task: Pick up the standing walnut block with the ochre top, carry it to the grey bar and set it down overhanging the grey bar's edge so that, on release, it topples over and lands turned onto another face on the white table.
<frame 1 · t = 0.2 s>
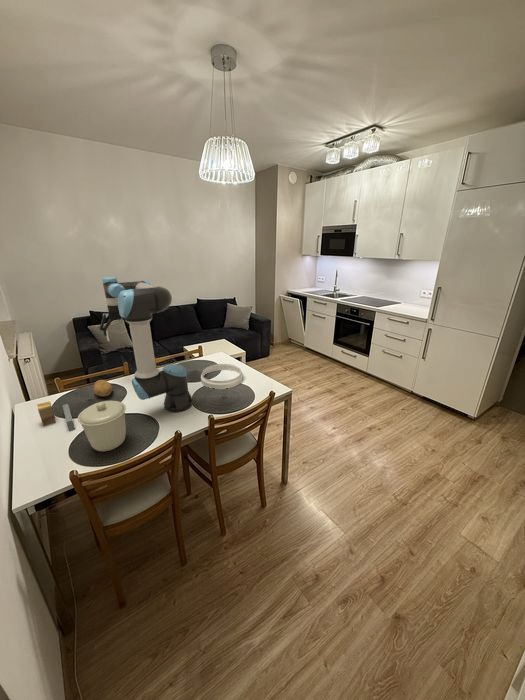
hand: (120, 338, 172), 28 cm above the table, fingers open, 13 cm apart
potato: (104, 395, 164), on the table
grey bar: (69, 420, 140), on the table
block: (49, 422, 139), on the table
canister: (109, 443, 126), on the table
white flat ring: (222, 379, 184), on the table
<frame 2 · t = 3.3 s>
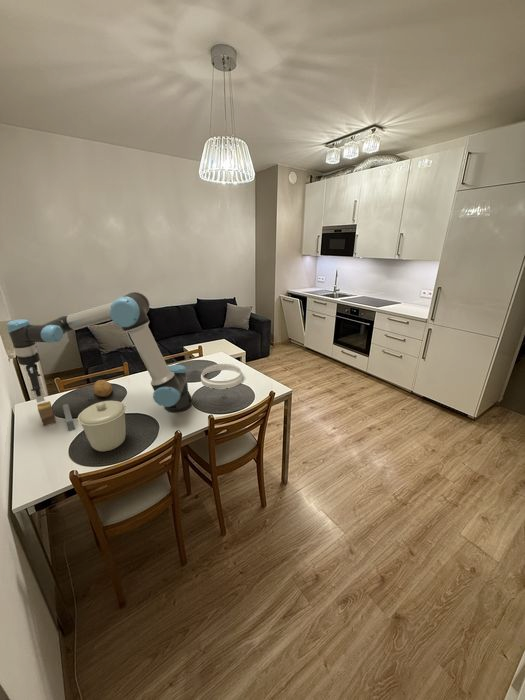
hand: (40, 395, 134), 15 cm above the table, fingers open, 13 cm apart
nothing on the table moved.
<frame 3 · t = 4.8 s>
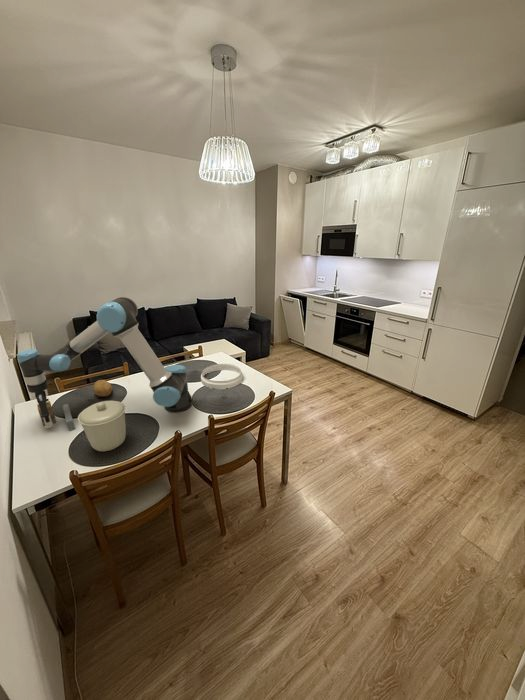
hand: (48, 420, 139), 1 cm above the table, fingers open, 13 cm apart
nothing on the table moved.
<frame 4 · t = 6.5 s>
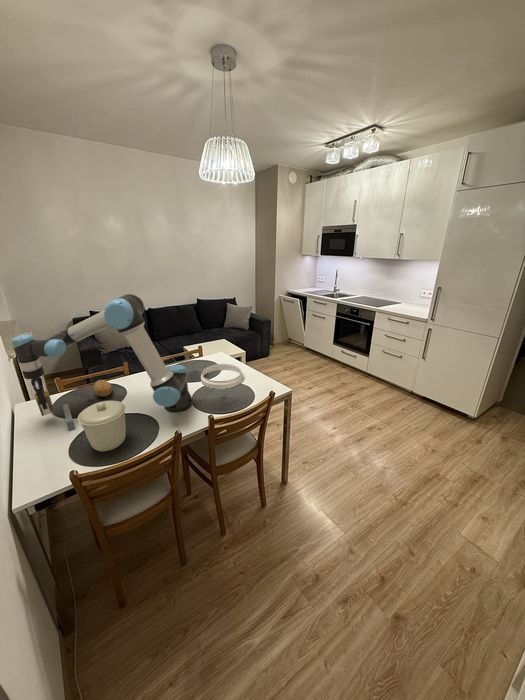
hand: (47, 411, 137), 6 cm above the table, fingers closed on block, 5 cm apart
block: (47, 411, 137), point 6 cm above the table, touching gripper
everything else where it was.
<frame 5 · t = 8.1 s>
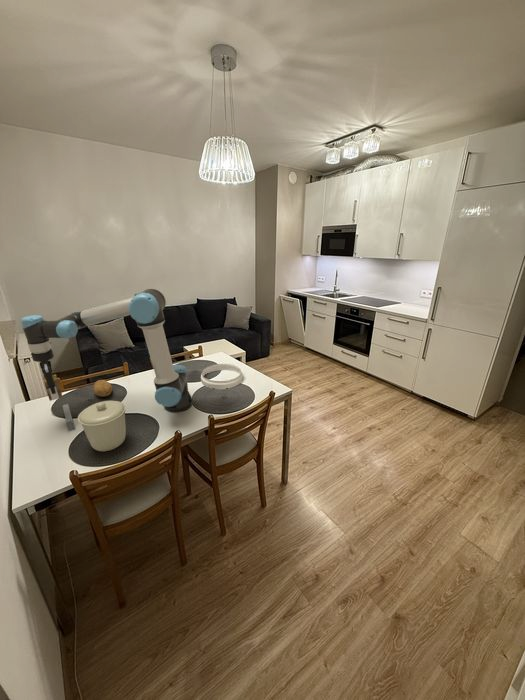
hand: (55, 396, 132), 16 cm above the table, fingers closed on block, 5 cm apart
block: (55, 396, 133), point 15 cm above the table, touching gripper
everything else where it was.
when the fingers open (5 cm above the table, at t = 10.2 s): block drops 3 cm and tips over, point 2 cm above the table.
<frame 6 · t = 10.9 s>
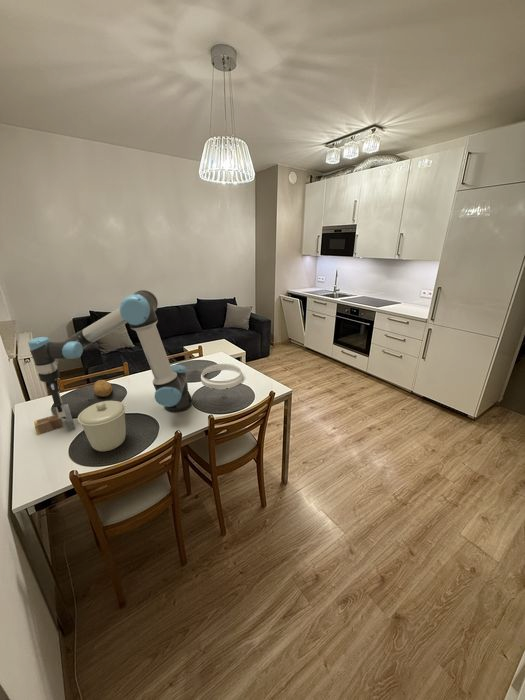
hand: (60, 410, 135), 8 cm above the table, fingers open, 13 cm apart
block: (61, 420, 137), point 2 cm above the table, tilted 90°
everything else where it was.
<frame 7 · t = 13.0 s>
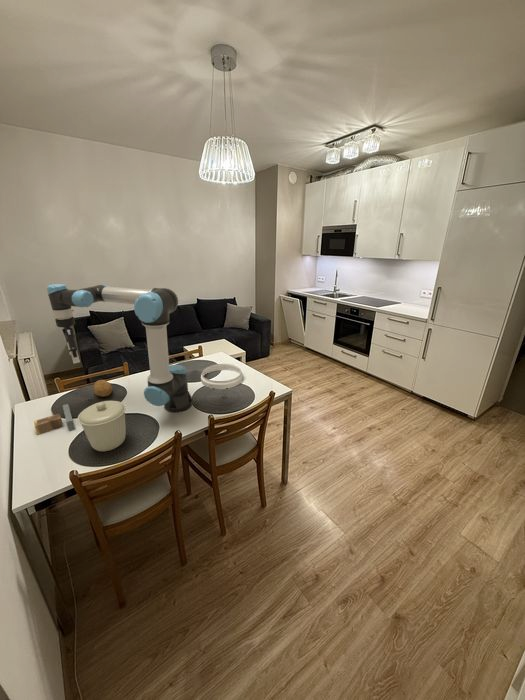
hand: (74, 358, 142), 29 cm above the table, fingers open, 13 cm apart
nothing on the table moved.
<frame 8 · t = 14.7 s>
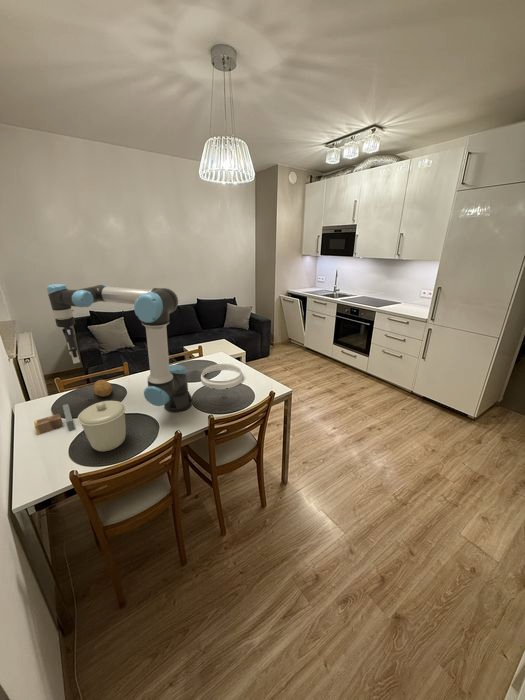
hand: (74, 358, 142), 29 cm above the table, fingers open, 13 cm apart
nothing on the table moved.
at the end: block tilted 90°; the gripper is holding nothing; block inside the target area (1.5 cm from its centre), point 2.4 cm above the table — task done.
